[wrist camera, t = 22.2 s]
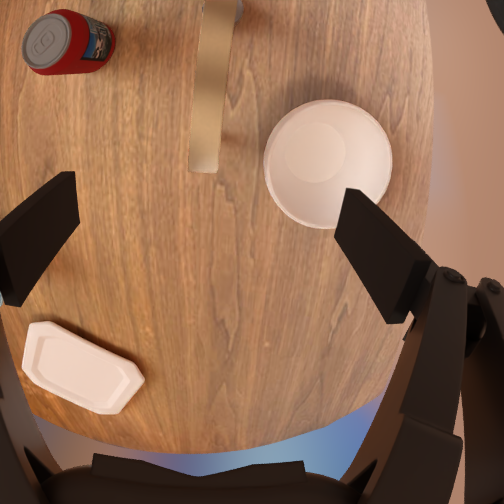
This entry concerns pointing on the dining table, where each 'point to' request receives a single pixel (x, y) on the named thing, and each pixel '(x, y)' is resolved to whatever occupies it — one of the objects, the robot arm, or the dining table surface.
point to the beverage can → (67, 44)
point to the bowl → (325, 160)
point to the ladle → (211, 83)
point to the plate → (79, 369)
